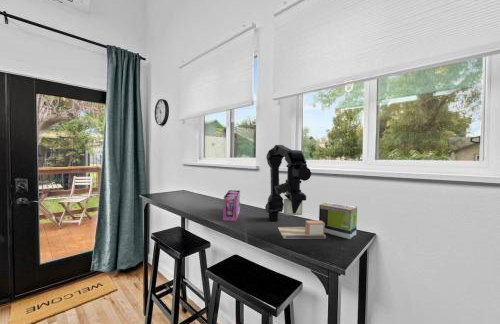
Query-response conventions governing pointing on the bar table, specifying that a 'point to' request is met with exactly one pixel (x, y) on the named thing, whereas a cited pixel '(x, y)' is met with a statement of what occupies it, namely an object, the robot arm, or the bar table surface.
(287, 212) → the sage carton
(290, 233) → the shelf board
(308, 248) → the bar table surface
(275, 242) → the bar table surface
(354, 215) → the tea box
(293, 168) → the robot arm
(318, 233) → the pink box
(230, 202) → the gum box
